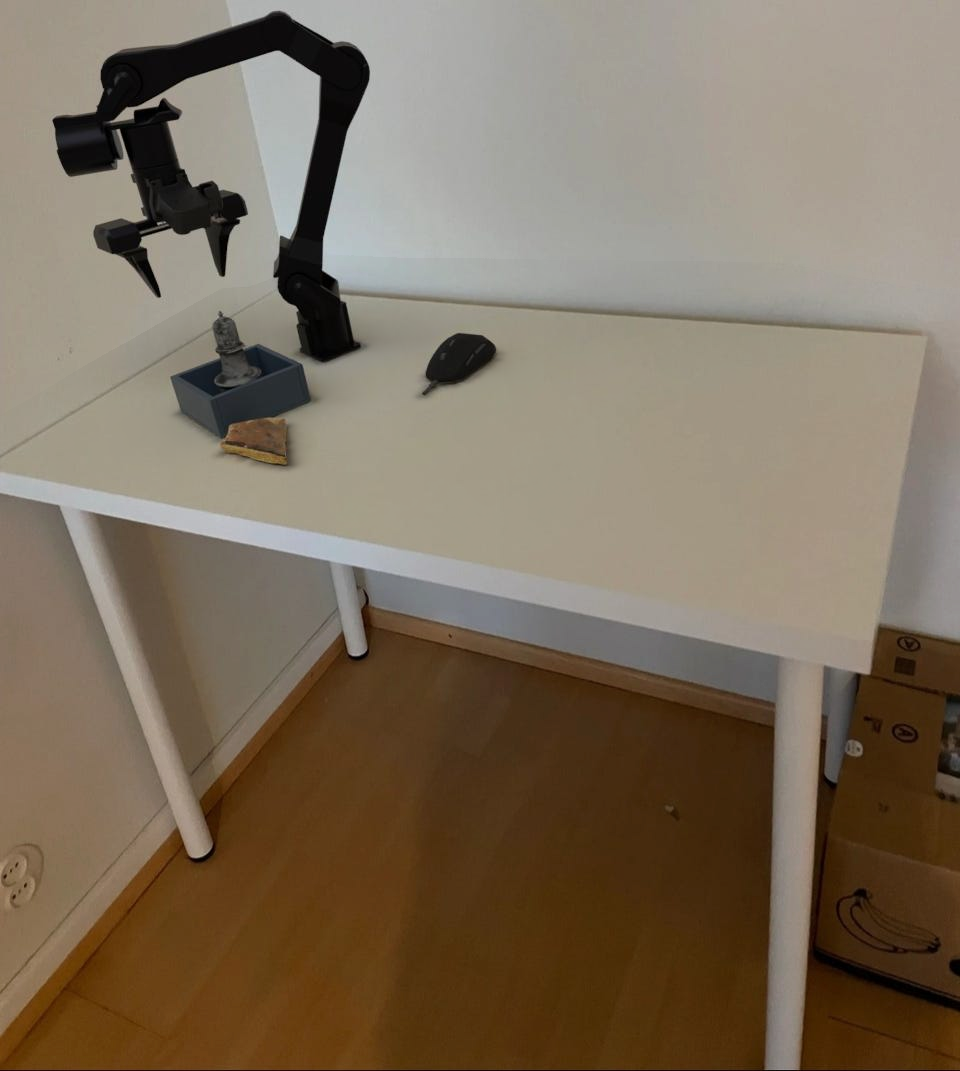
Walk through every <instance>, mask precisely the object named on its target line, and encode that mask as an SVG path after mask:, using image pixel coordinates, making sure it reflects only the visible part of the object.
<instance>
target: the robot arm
mask: <svg viewBox="0 0 960 1071" xmlns="http://www.w3.org/2000/svg"><path fill="white" fill-rule="evenodd" d="M273 52H281V53H282V54H284V55H285V56H287V57H289V58H290V59H291V60H293V61H295V62H297V63H298V64H299V65H301V66H303V67H304V68H305V69H307V70H309V71H310V72H312V73H314V74H315V75H317V76H319V85H318V86H319V88H318V119H317V124H316V128H315V134H314V139H313V144H312V148H311V153H310V157H309V162H308V166H307V171H306V177H305V181H304V185H303V186H304V187H303V190H302V196H301V200H300V206H299V210H298V215H297V220H296V224H295V227H294V229H293V231H292V233H291V235H290V238H288V237H286V236H283V235H279V242H278V244H279V245H278V254H277V257H276V259H275V260H274V262H273V274H272V278H273V279H277V291H278V293H279V295H280V297H281V298H282V299H283V300H284V301H285V302H286V303H287V304H289V305H292V306H294V307H295V308H296V309H297V311H295V314H296V318H297V322H298V323H296V326H295V328H296V332H297V335H298V339H299V343H300V344H299V345H300V347H299V352H300V353H301V354H304V355H306V356H308V357H310V358H313V359H315V360H317V361H320V362H326V361H328V360H331V359H333V358H336V357H338V356H341V355H344V354H347V353H349V352H351V351H354V350H356V349H359V348H361V346H362V345H361V342H359V341H357V340H355V339H354V335H353V330H352V324H351V319H350V316H349V310H348V305H347V302H346V301H344V300H341V292H340V291H341V290H340V284H339V280H338V279H337V278H335V277H333V276H332V275H330V274H329V273H327V272H326V271H324V270H323V269H324V268H323V266H324V264H323V263H324V238H325V233H326V229H327V224H328V220H329V214H330V211H331V206H332V201H333V198H334V197H333V196H334V192H335V189H336V184H337V180H338V175H339V170H340V166H341V161H342V157H343V153H344V147H345V143H346V138H347V134H348V131H349V128H350V126H351V124H352V122H353V120H354V118H355V116H356V115H357V111H358V109H359V108H360V105H361V102H362V100H363V98H364V95H365V93H366V91H367V88H368V86H369V83H370V77H371V70H370V65H369V62H368V60H367V58H366V57H365V55H364V53H363V52H362V50H360V49H359V47H358V46H356V45H355V44H353V43H352V42H349V41H343V40H341V41H336V42H333V41H332V40H330V39H328V38H327V37H324V35H322V34H320V33H318V32H317V31H314V30H313V29H312V28H309V27H307V26H305V25H304V24H302V23H301V22H299V21H297V20H295V19H294V18H292V16H291V15H290V14H288V13H287V12H286V11H283V10H273V11H271V12H269V13H268V14H266V15H264V16H261V17H259V18H255V19H252V20H249V21H246V22H243V23H239V24H236V25H233V26H230V27H227V28H224V29H219V30H217V31H214V32H210V33H208V34H204V35H201V36H198V37H194V38H191V39H189V40H186V41H183V42H179V43H173V44H172V43H171V44H162V45H161V44H160V45H148V46H147V45H146V46H138V47H137V46H136V47H129V48H122V49H120V50H118V51H117V52H115V53H113V54H111V55H110V56H108V57H107V58H106V59H105V60H104V61H103V63H102V66H101V68H100V74H99V75H100V76H99V78H100V83H101V87H102V89H103V90H102V94H101V96H100V100H99V103H98V104H97V105H96V111H92V112H87V113H86V112H85V113H79V114H61V115H56V116H54V117H53V118H52V124H53V127H54V136H55V143H56V148H57V149H56V155H57V157H58V159H59V162H60V165H61V167H62V169H63V170H64V173H65V174H66V175H67V176H68V177H69V178H73V177H80V176H85V175H91V174H97V173H104V172H111V171H117V170H118V167H119V166H118V161H121V160H124V157H125V156H124V149H125V152H126V155H127V159H128V161H129V165H130V167H131V171H132V173H130V177H131V181H132V183H133V184H135V185H136V188H137V191H138V194H139V197H140V200H141V201H140V202H141V204H142V207H140V210H141V213H142V216H143V217H146V219H142V220H139V221H135V222H133V221H130V220H128V219H125V218H122V217H120V218H117V219H113V220H109V221H106V222H102V223H99V224H95V226H94V228H93V230H92V231H93V232H92V233H93V234H92V236H93V239H94V241H95V245H96V247H97V249H99V250H101V251H104V252H106V253H108V254H110V255H115V256H118V257H121V258H123V259H125V261H126V262H127V263H128V264H129V265H131V267H132V269H134V271H135V272H136V273H137V274H138V276H139V277H140V278H141V279H142V281H143V282H144V283H145V285H146V286H147V287H148V288H149V290H150V291H151V292H152V294H153V295H154V296H155V297H156V298H158V299H160V298H162V293H161V289H160V286H159V283H158V280H157V277H156V276H155V272H154V270H153V268H152V265H151V263H150V261H149V257H148V256H149V255H148V248H147V247H144V246H142V245H141V243H142V241H143V238H144V237H147V236H151V235H154V234H159V233H162V232H165V231H167V230H172V231H173V232H174V233H175V234H177V235H180V236H184V235H189V234H190V233H191V232H194V231H197V230H200V229H203V230H204V232H205V235H206V237H207V238H206V239H207V242H208V246H209V250H210V253H211V256H212V259H213V263H214V265H215V268H216V272H217V273H218V276H219V277H221V278H224V277H226V273H227V272H226V270H227V258H228V246H229V242H230V241H229V240H230V235H231V234H232V231H233V230H234V228H235V227H236V226H238V225H240V224H241V219H240V218H242V217H243V218H244V217H246V216H248V215H249V210H248V208H247V203H246V200H245V199H244V197H243V196H242V195H241V194H240V193H238V192H235V191H230V190H226V189H221V190H220V188H219V184H218V183H216V182H215V181H214V180H210V181H205V182H201V183H199V184H198V185H196V186H193V185H192V183H191V182H190V180H189V177H188V174H187V173H186V169H185V168H182V167H181V164H180V161H179V156H178V153H177V150H176V146H175V144H174V139H173V136H172V132H171V130H170V126H169V122H172V121H173V122H174V121H178V120H180V118H181V117H182V115H183V111H182V109H180V108H178V107H176V106H175V105H173V104H172V103H171V102H169V101H168V99H167V98H165V97H162V98H161V99H160V101H159V103H158V105H157V106H151V107H143V108H138V107H140V106H142V105H143V104H145V103H147V102H149V101H150V100H152V99H154V98H156V97H158V96H160V95H161V94H163V93H165V92H166V91H169V90H170V89H172V88H174V87H175V86H177V85H178V84H180V83H182V82H184V81H185V80H188V79H190V78H194V77H197V76H200V75H203V74H207V73H210V72H212V71H216V70H219V69H223V68H226V67H229V66H232V65H235V64H239V63H242V62H246V61H248V60H252V59H255V58H257V57H260V56H264V55H267V54H270V53H273ZM136 107H137V108H138V109H134V110H133V118H130V119H124V120H119V121H115V120H117V118H118V117H119V116H120V115H121V114H122V113H123V112H124V111H125V110H126V109H127V108H129V109H130V108H136ZM118 130H119V133H120V136H121V138H120V136H119V133H118ZM121 139H122V142H123V145H122V142H121ZM123 146H124V149H123Z"/></svg>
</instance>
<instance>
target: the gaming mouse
mask: <svg viewBox="0 0 960 1071" xmlns="http://www.w3.org/2000/svg"><path fill="white" fill-rule="evenodd" d="M496 354H497V347H496V344H494V342H492V341H491V340H490V339H489V338H487V336H484V335H483V334H475V333H466V332H457V333H455V334H452V335H451V336H449V337H447V338H446V339H445V340H444V341H443V342H442V343H441V344H440V345H439V346H438V347H437V348H436V350H435V352H434V353H433V354H432V355H431V357H430V359H429V360H428V361H429V362H428V363H427V366H426V369H425V379H427V380H428V381H429V380H430V381H431V382H430V383H429V384H428V387H427V388H426V389H424V390H423V391H422V393H421V394H422V395H423V396H425V395H426V394H427V393H429V392H430V390H432V389H434V388H435V387H436V386H437V385H438V383H441V384H446V383H447V384H448V383H451V384H452V383H457V382H460V381H463V380H465V379H466V378H468V377H470V376H471V375H472V374H473V373H475V372H477V371H478V370H479V369H480V368H482V367H484V366H486V365H487V364H488V363H489V362H491V361H492V360H493V358H494V357H495V355H496Z"/></svg>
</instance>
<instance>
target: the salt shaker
mask: <svg viewBox="0 0 960 1071" xmlns="http://www.w3.org/2000/svg"><path fill="white" fill-rule="evenodd" d="M217 316H218V318H217V319H215V320H214V322H213V323H212V324H211V329H212V332H213V337H214V338H215V339H214V340H215V343H216V347H215V349H214V352H215V353H216V354H218V356H219V358H220V359H221V363H222V373H221V374H219V375H218V376H217V377H216V378H215V380H214V381H215V384H216V385H217V386H219V389H220V390H221V392H222V393H223V392H226V391H228V390H231V389H233V388H236V387H238V386H241V385H244V384H246V383H249V382H251V381H254V380H256V379H259V378H260V376H261V373H262V372H261V370H260V369H259V368H257V367H252V366H249V364H248V362H247V360H246V358H245V354H244V351H243V349H244V347H245V343H244V342H243V341H241V339H240V336H239V332H238V327H237V324H236V322H235V320H234V319H233V318H231V317H228V316H224V313H223V312H222V311H221V310H219V311H218V314H217Z"/></svg>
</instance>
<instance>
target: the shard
mask: <svg viewBox="0 0 960 1071" xmlns="http://www.w3.org/2000/svg"><path fill="white" fill-rule="evenodd" d="M286 442H287V424H286V419H285V418H283V417H271V418H270V417H268V418H260V419H256V420H250V421H244V422H238V423H234V424H231V425H230V426H229V430H228V434H227V436H226V437H224V439H223V441H221V442H220V445H219V446H220V448H221V449H222V451H224V452H226V453H227V454H237V455H240V456H242V457H247V458H250V459H252V460H255V461H260V462H264V463H266V464H279V465H284V466H285V465H287V464H288V462H287V452H286Z"/></svg>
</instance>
